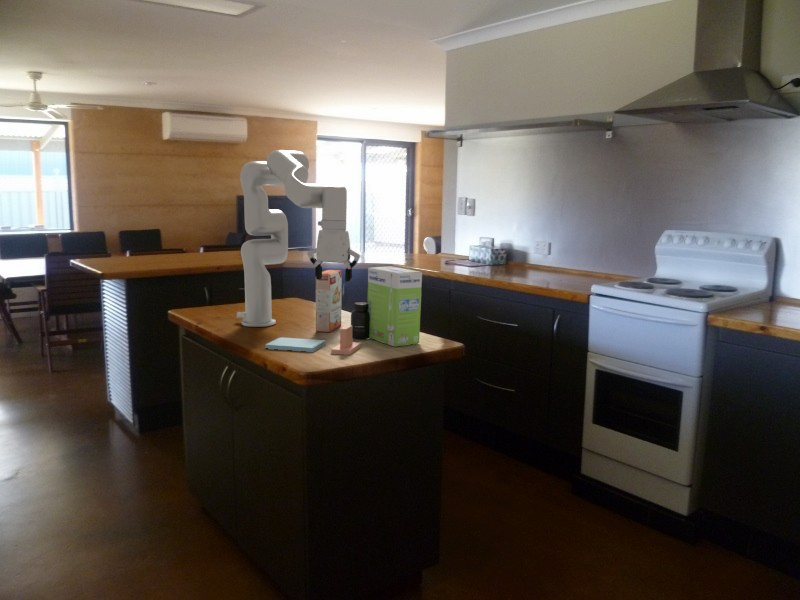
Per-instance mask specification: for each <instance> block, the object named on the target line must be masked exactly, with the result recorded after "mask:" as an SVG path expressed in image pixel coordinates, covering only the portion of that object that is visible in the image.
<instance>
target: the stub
mask: <svg viewBox="0 0 800 600" xmlns="http://www.w3.org/2000/svg"><path fill="white" fill-rule="evenodd" d="M361 348H362V343H361V342H355V341H353V338H352V325H351V324H350V325H348V324H346V325H344V326H342V327H340V328H339V344H337V345H336V346H334V347H332V348H331V349H330V353H331V354H332V355H342V354H343V355H345V356H350V355H352V354H354V353H355V352H356V351H358V350H359V349H361Z"/></svg>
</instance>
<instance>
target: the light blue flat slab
mask: <svg viewBox="0 0 800 600" xmlns="http://www.w3.org/2000/svg"><path fill="white" fill-rule="evenodd" d="M326 343H327V342H326V340H325V339H308V338H297V337H295V338H294V337H284V336H281V337H277V338H276V339H273V340H272V341H270V342H268V343H265V346H264V347H265V348H268V349H267V350H274V349H278V350H277V351H287V350H292V351H291V352H301V351H306V352H305V353H314V352H316V351H318V350H320V349H321V348H323V347H324V346H325V345H326Z"/></svg>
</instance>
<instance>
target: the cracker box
mask: <svg viewBox="0 0 800 600" xmlns="http://www.w3.org/2000/svg"><path fill="white" fill-rule="evenodd" d="M342 273H343V271H342V270H341V269H326V270H322V278H321V279H316V278H315V332H320V333H321V332H322V333H331V332H333V331H334V330H336V329H337V328H338V327H341V326H342V298H343V297H342V289H343V288H342V286H343V283H342V281H343V280H342V279H343V274H342Z"/></svg>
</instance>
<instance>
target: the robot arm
mask: <svg viewBox="0 0 800 600" xmlns="http://www.w3.org/2000/svg"><path fill="white" fill-rule="evenodd" d="M309 167H310V162H309V159H308V156H307V155H306V154H305V153H304V152H302V151H298V150H285V149H276V150H273V151H271V152H270V153H269V154H268V155H267V157H266V161H265V160H254V161H249V162H247V163H245V164H244V165H243V166H242V167H241V171H240V175H239V176H240V177H239V180H240V184H241V189H242V192H243V206H244V209H243V211H244V212H243V213H244V229H245V231H246V233H247V234H248V235H250V236H270V237H271V238H256V239H249V240H246V241H244V242H243V243H242V245H241V248H240V255H241V260H242V265H243V275H244V300H245V301H244V306H245V307H244V309H245V311H237V312H236V318H237V319H242V321H241V325H242V326H243V327H251V328H260V327H261V328H262V327H270V326H274V325H275V324H277V321H276V319H274V318H272V315H273V313H272V279H271V274H270V272H269V271H268V270H267V269H268V268H266V265H278V264H279V265H280V264H283V263H284V262H286V260H287V259H288V254H289V222H288V219H287V215H286V214H285V213H284V212H283V211H282V210H281V209H277V208H276V209H275V208H274V209H270V208H269V197H268V194H267V192H266V191H265V189H264V188H263V186H264V187H265V186H268V187H269V186H271V187H284V188H283V189H284V192H285V195H286V197H287V198H288V199H289V200H290V201H291V202H292V203H293V204H294V205H296V206H298V207H299V208H302V209H321V214H322V215H321V220H320V221H317V225H318V226H320V228H321V229H319V230H318V236H317V242H316V248H314V249H312V250H309V251H308V252H307V256H308V258H309V260H310V262H311V263H312V265H313V266H314V267H315V270H314V271H315V273H314V275H315V280H316V279H321V278H322V272H323V266H322V264H323V263H336V264H337V263H338V264H344V266H345V267H346V268H345V270H344V272H345V273H344V274H345V275H344V279H345V280H344V281H345V282H346V283H348V282H350V281H351V279H352V276H353V268H354V267H355V266H356V265H357V264H358V262H359V261H360V259H361V255H360V253H357V252H356V251H354V250H352V249H351V241H350V240H351V239H350V234H349V231H348V229H347V210H348V209H347V201H348V200H347V199H348V197H347V195H348V192H347V188H346V187H345V186H343V185H332V184H328V183H327V184H326V183H325V184H324V183H307V181H308V178H309ZM314 254H315V255H314ZM315 256H316V257H315ZM351 257H353V260H352V261H351Z"/></svg>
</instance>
